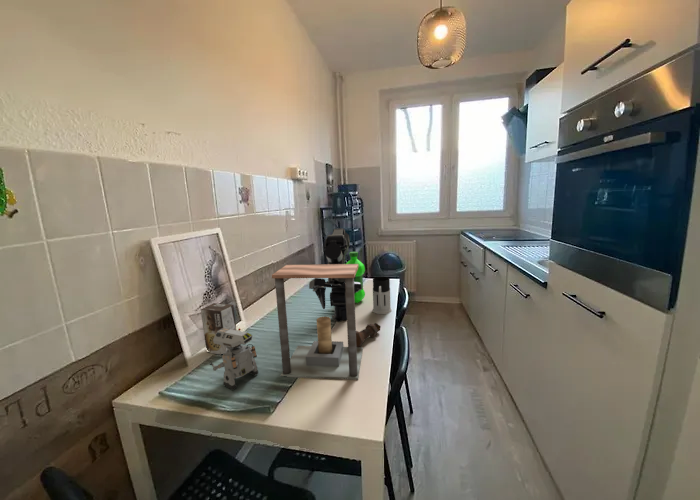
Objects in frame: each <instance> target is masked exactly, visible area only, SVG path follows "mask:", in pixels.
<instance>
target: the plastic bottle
mask: <svg viewBox="0 0 700 500" xmlns="http://www.w3.org/2000/svg"><path fill="white" fill-rule="evenodd" d="M348 252H349V251H348ZM349 257H350V260H348V261H347V262H345V264H358V265H359V267H358V270H357V272H356V277H355V280H354V282H360V284H361V285H362V290H359V291H358V292H356V293H355V294H354V296H355V304H358V303H361V301H362V300H364V299H365V297H366V292H365V290H364V282H363V277H364V276H363V275H364V274H365V271H366V267H365V264H364V263H362V261H361V260H359V259H358V257H359V252H358V251H350V252H349Z"/></svg>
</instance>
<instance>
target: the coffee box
mask: <svg viewBox="0 0 700 500" xmlns="http://www.w3.org/2000/svg"><path fill="white" fill-rule="evenodd" d="M235 316H236V315H235V308H234V304H231V303H228V304H227V303H216V302H215V303H214V302H213V303H211V304H208V305H206V306H205V307H203V308H201V309H200V317H201V323H202V329H203V336H204V343H205V348H207V350H208V351H210V352H211V353H210V354H216V355H221V354H223V353H224V352H226V351H227V350H228V348H227V347H228V346H223V345H219V344H214V342H213V339H214V337H215V335H216V333H217V331H218V330H220V329H222V328H227V329H232V330H237V323H236V317H235Z"/></svg>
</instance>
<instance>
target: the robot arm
mask: <svg viewBox="0 0 700 500" xmlns="http://www.w3.org/2000/svg"><path fill="white" fill-rule="evenodd" d="M349 247H350V235H349V234H348V233H347V232H346V230H345V228H341V227H340V228H338V227H337V228H333V229H332V234H328V235H327V237H326V238H325V240H324V249H323V250H324V254H325V255H324V256H325V257H326V259H327V264H346V255H347V253H348V252H349ZM355 277H356V275H355ZM355 277H354V280H355ZM327 288H331V291H330V292H329V301H330V302H329V303H330V307H334V308H333V309H334V314H333V315H331V317H332V318H333V319H334V320H335V321H336V322H342V321H347V311H346V288H345V278H327V281H326V278H312V280H310V281H309V284H308V289H311V290H312V292H314V293H315V294H316V296H317V298H318V300H319V303H320V305H321V308H322V309H323V310H325V309H326V289H327ZM359 290H362V285H361V284H360V282H354V294H355V293H356V292H358V291H359Z"/></svg>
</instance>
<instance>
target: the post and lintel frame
mask: <svg viewBox="0 0 700 500" xmlns="http://www.w3.org/2000/svg"><path fill="white" fill-rule="evenodd" d="M358 267H359V265H358V264H346V263H345V264H328V263H327V264H324V263H323V264H318V263H316V264H315V263H314V264H286V265H284V266H283V267H281V268H279V269H278V270H276V272H274V273H273V274H271V279H274V283H275V284H274V287H275V297H276V308H277V318H278V330H279V331H278V332H279V341H280V343H279V344H280V354H281V366H282V372H281V373H280V377H281V376H287V377H286V378H304V379H305V378H306V379H329V380H331V379H332V380H359V377H360V370H361V366H362V358H363V350H364V347H363V346H361V347H356V331H357V330H356V328H357V324H356V303H355V296H354V277H355V275H356V272H357V270H358ZM315 278H318V279H328V278H345V288H346V311H347V320H346V328H347V330H346V331H347V346H344V350H343V354H342V357H341V361H340V364H339V366H310V365H306V356H307V354H308V352H309V350H310V348H311V346H312V345H297V346H296V348H295V350H294V351H293V353H292V355H291V354H290V353H291V352H290V342H289V341H290V340H289V330H288V329H289V327H288V316H287V305H286V302H287V301H286V292H285V282H284V281H285V279H315ZM333 353H334V352H332V354H333ZM318 354H319V353H318Z"/></svg>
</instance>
